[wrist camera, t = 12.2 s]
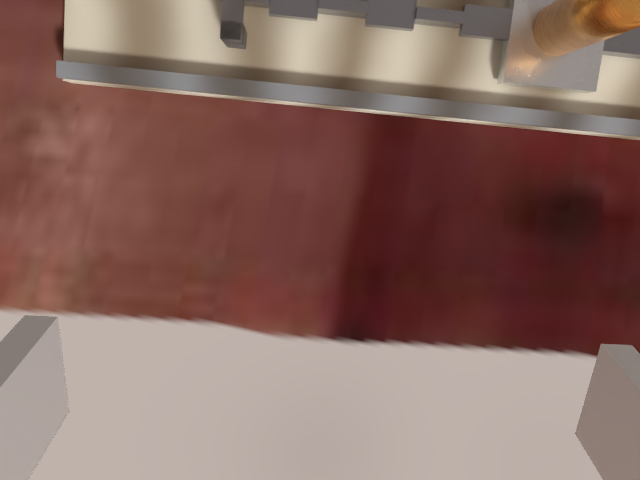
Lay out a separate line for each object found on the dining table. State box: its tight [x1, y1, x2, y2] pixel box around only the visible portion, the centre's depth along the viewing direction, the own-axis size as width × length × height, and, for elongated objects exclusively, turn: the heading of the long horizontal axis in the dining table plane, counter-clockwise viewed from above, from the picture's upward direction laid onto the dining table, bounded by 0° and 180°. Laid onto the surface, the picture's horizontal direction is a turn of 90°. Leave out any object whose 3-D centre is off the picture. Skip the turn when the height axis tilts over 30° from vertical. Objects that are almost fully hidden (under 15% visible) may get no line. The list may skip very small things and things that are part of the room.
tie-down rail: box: [56, 0, 640, 140], centre depth 36 cm, size 49×12×5 cm, turn 84°
